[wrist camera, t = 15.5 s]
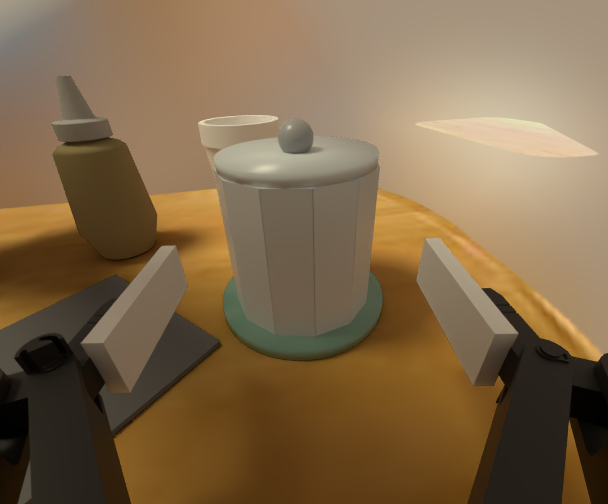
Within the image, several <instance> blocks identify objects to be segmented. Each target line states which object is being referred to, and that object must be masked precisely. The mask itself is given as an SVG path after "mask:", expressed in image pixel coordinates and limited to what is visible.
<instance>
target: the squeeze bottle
mask: <svg viewBox="0 0 608 504" xmlns="http://www.w3.org/2000/svg"><path fill="white" fill-rule="evenodd" d="M56 83H57V88H58V94H59V100H60V105H61V111H62V116H63V120H61V121H56V122H53V123H52V126H53V129H54V131H55V133H56V136H57V138H58V140H59V141H62V142H66V143H64V144H62V145H60V146H58V147H57V148H56V149H55V151H54V152H53V158H54V161H55V164H56V166H57V169H58V172H59V175H60V178H61V181H62V184H63V187H64V190H65V193H66V196H67V199H68V202H69V205H70V208H71V211H72V214H73V217H74V220H75V223H76V226H77V229H78V232H79V234H80V235H81V236H82V237H83V238H85V239H86V240H87V241H88V242H89V243H90V244H91V245H92V246H93V247H94V248H95V249H96V250H97V251H98V252H99V253H100V254H101V255H102V256H103V257H105V258H107V259H114V260H118V259H126V258H130V257H134V256H137V255H140V254H142V253H144V252H146V251H148V250H149V249H150V248H152V247H153V246H154V244H155V242H156V228H157V213H156V210H155V208H154V206H153V204H152V201H151V199H150V197H149V195H148V192H147V190H146V188H145V185H144V183H143V181H142V179H141V176H140V174H139V172H138V170H137V167H136V165H135V163H134V160H133V158H132V156H131V154H130V151H129V149H128V147H127V145H126V143H124V142H122V141H121V140H118V139H114V138H109V137H110V136H112V135H113V133H112V130H111V127H110V124H109V121H108V119H107V118H102V117H95V116H94V114H93V113H92V111H91V109H90V108H89V106H88V104H87V103H86V101H85V99H84V98H83V96H82V94H81V93H80V91H79V89H78V88H77V86H76V84H75V83H74V81H73V79H72V77H71V76H58V77H56Z"/></svg>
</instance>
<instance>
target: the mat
mask: <svg viewBox="0 0 608 504" xmlns="http://www.w3.org/2000/svg"><path fill="white" fill-rule="evenodd" d="M129 285H130V283H128V282H127V281H125V280H124V279H122V278H121V277H119V276H117V275H116V274H115V275H113V276H111V277H109V278H107V279H105V280H103V281H101V282H99V283H97V284H95V285H93V286H91V287H88V288H86V289H84V290H82V291H80V292H78V293H76V294H74V295H72V296H70V297H68V298H66V299H64V300H62V301H59V302H57V303H55V304H53V305H51V306H49V307H47V308H45V309H43V310H41V311H39V312H37V313H35V314H32V315H30V316H28V317H26V318H24V319H22V320H20V321H18V322H16V323H14V324H12V325H10V326H8V327H5V328H3V329H1V330H0V369H2V370H3V372H4V373H5V374H6V375H10V374H14V373H18V372H22V371H24V370H23V369H22V368H21V367H20V365H19V364H18V363H17V362H16V360H15V359H14V357H15V354H16V352H17V351H18V350H19V349H20V348H21V347H22V346H23V345H25V344H26V343H27V342H29V341H30V340H32V339H34V338H36V337H38V336H41V335H45V334H48V333H59V334H61V335H62V336H63V337H64V339H65V341H66V342H67V344H68V343H69V342H70V341H71V340H72V339H73V337H74V336H75V335H76V334H77V333H78V332H79V331H80V329H81V328H82V327H83V326H84V325H85V324H87V321H88V320H89V319H90V318H91V317H93V315H94V313H95V312H96V311H97V310H98V309H99V308H100V307H101V306H102V305H103V304H105V303H106V302H108V301H109V300H111V299H113V298H119V297H120V295H121V294H122V293H123V292H124V291H125V289H126V288H127V287H128V286H129ZM220 345H221V344H220V341H219V340H218V339H216V338H214V337H213V336H211V335H210V334H208V333H207V332H205V331H204V330H202V329H200V328H199V327H197V326H196V325H194V324H193V323H191V322H189V321H188V320H186V319H185V318H183V317H182V316H180V315H178V314H177V313H175V312H174V314H173V315H172V317H171V319H170V321H169V323H168V325H167V326H166V328H165V330H164V332H163V334H162V336H161V337H160V339H159V341H158V343H157V345H156V347H155V348H154V350H153V352H152V354H151V356H150V358H149V359H148V361H147V363H146V365H145V367H144V369H143V370H142V372H141V374H140V376H139V378H138V380H137V381H136V383H135V385H134V387H133V389H132V391H131V392H130V393H110V391H109V389H108V388H107V386H106V384H104V386H103V387H102V389H101V390H100V392H99V394H100V395H101V397H102V399H103V403H104V406H105V410H106V414H107V417H108V421H109V425H110V428H111V432H112V436H113V435H115V434H116V433H117V432H118V431H119V430H120V429H122V428H123V427H124V426H125V425H126V424H128V423H129V422H130V421H131V420H132V419H133V418H135V417H136V416H137V415H138V414H139V413H140V412H142V411H143V410H144V409H145V408H146V407H148V406H149V405H150V404H151V403H152V402H153V401H155V400H156V399H157V398H158V397H159V396H161V395H162V394H163V393H164V392H165V391H166V390H168V389H169V388H170V387H171V386H172V385H174V384H175V383H176V382H177V381H178V380H179V379H181V378H182V377H183V376H184V375H185V374H187V373H188V372H189V371H190V370H191V369H192V368H194V367H195V366H196V365H197V364H198V363H200V362H201V361H202V360H203V359H204V358H205V357H207V356H208V355H209V354H210V353H211V352H213V351H214V350H215V349H216V348H217V347H218V346H220ZM18 504H32V498H31V469H30V461H29V465H28V468H27V472H26V475H25V479H24V483H23V486H22V490H21V494H20V497H19V501H18Z"/></svg>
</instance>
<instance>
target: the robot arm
mask: <svg viewBox="0 0 608 504" xmlns="http://www.w3.org/2000/svg"><path fill="white" fill-rule="evenodd" d="M416 281H417V283H418V285H419V287H420V289H421V291H422V292H423V294H424V296H425V298H426V300H427V302H428V303H429V305H430V307H431V309H432V311H433V313H434V315H435V316H436V318H437V320H438V322H439V324H440V326H441V327H442V329H443V331H444V333H445V335H446V337H447V339H448V340H449V342H450V344H451V346H452V348H453V350H454V352H455V353H456V355H457V357H458V359H459V361H460V363H461V364H462V366H463V368H464V370H465V372H466V374H467V376H468V377H469V379H470V381H471V383H472V385H473V386H494V384H495V382H496V379H497V377H498V375H499V376H500V378H501V379H502V381H503V383H504V384H505V385H504V387H503V389H502V391H501V393H500V395H499V397H498V399H497V401H496V403H498V405H497V408H496V412H495V415H494V418H493V421H492V425H491V428H490V431H489V435H488V438H487V441H486V444H485V448H484V451H483V454H482V458H481V461H480V464H479V468H478V471H477V474H476V477H475V481H474V484H473V487H472V491H471V494H470V497H469V500H468V504H561V502H562V491H563V480H564V469H565V458H566V447H567V436H568V425H569V420H570V424H571V427H572V431H573V435H574V439H575V443H576V447H577V451H578V454H579V458H580V462H581V466H582V470H583V474H584V478H585V481H586V485H587V489H588V493H589V497H590V501H591V504H608V353H607V354H604V355H603V356H602V357H601V358H600V359H599V361H598V362H596V361H591V360H586V359H582V358H577V357H573V356H571V355H570V354H569V352H568V351H567V350H565V349H564V348H563V347H561V346H560V345H558V344H556V343H554V342H552V341H549V340H545V339H541V338H539V337H538V335H537V334H536V333H535V332H534V331H533V330H532V329H531V328H530V326H529V325H528V324H527V323H526V322H525V321H524V320H523V319H522V317H521V316H520V315H519V314H518V313H516V311H515V310H514V308H513V307H512V306H510V304H509V303H508V302H507V301H506V300H505V298H504V297H503V296H502V295H500V294H499V293H497V292H496V291H494V290H493V289H491V288H480V286H479V285H478V284H477V283H476V281H475V280H474V279H473V278H472V277H471V275H470V274H469V273H468V272H467V271H466V269H465V268H464V267H463V266H462V264H461V263H460V262H459V261H458V260H457V258H456V257H455V256H454V255H453V254H452V252H451V251H450V250H449V249H448V248H447V246H446V245H445V244H444V243H443V241H442V240H441V239H440V238H425V240H424V245H423V250H422V255H421V260H420V265H419V270H418V275H417V280H416ZM187 288H188V285H187V281H186V278H185V275H184V271H183V268H182V264H181V261H180V258H179V254H178V251H177V247H176V245H175V246H161V247H160V248H159V250H158V251H157V252H156V253H155V254H154V256H153V257H152V258H151V259H150V260H149V262H148V263H147V264H146V265H145V266H144V268H143V269H142V270H141V271H140V273H139V274H138V275H137V276H136V277H135V279H134V280H133V281H132V282H131V283H130V285H129V286H128V287H127V288H126V289H125V291H124V292H123V293H122V294H121V295H120V297H119V298H113V299H111V300H109V301H108V302H106V303H105V304H103V305H102V306H101V307H100V308H99V309H98V310H97V311H96V312H95V313H94V315H93V317H91V318H90V319H89V320H88V321H87V324H85V325H84V326H83V327H82V328H81V329H80V331H79V332H78V333H77V334H76V335H75V336H74V337H73V339H72V340H71V341H70V342H69V343H68V344H67V342H66V341H65V339H64V337H63V336H62V335H61V334H59V333H48V334H45V335H41V336H38V337H36V338H34V339H32V340H30V341H29V342H27V343H26V344H25V345H23V346H22V347H21V348H20V349H19V350H18V351H17V352H16V354H15V357H14V359H15V360H16V362H17V363H18V364H19V365H20V367H21V368H22V369H23V370H24V371H22V372H18V373H14V374H10V375H6V374H5V373H4V372H3V370H2V369H0V504H18V501H19V497H20V494H21V490H22V486H23V483H24V479H25V475H26V472H27V468H28V465H29V461H30V469H31V498H32V504H131V502H130V498H129V495H128V491H127V487H126V483H125V480H124V476H123V472H122V469H121V465H120V461H119V458H118V454H117V450H116V447H115V443H114V439H113V436H112V432H111V428H110V425H109V421H108V417H107V414H106V410H105V406H104V403H103V399H102V397H101V395H100V394H99V392H100V390H101V389H102V387H103V386H104V384H106V386H107V388H108V389H109V391H110V393H130V392H131V391H132V389H133V387H134V385H135V383H136V381H137V380H138V378H139V376H140V374H141V372H142V370H143V369H144V367H145V365H146V363H147V361H148V359H149V358H150V356H151V354H152V352H153V350H154V348H155V347H156V345H157V343H158V341H159V339H160V337H161V336H162V334H163V332H164V330H165V328H166V326H167V325H168V323H169V321H170V319H171V317H172V315H173V314H174V312H175V310H176V308H177V306H178V304H179V303H180V301H181V299H182V297H183V295H184V293H185V292H186V290H187Z"/></svg>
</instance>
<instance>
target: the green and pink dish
mask: <svg viewBox="0 0 608 504" xmlns="http://www.w3.org/2000/svg"><path fill="white" fill-rule="evenodd" d="M382 300H383V295H382V289H381V286H380V283H379V282H378V280H377V278H376V277H375V275H374V274H373V273H372V272H371V271H369V281H368V291H367V301H366V303H365V305H364V306H363V307H362V309H361V310H360V311H359V312H358V314H357V315H356V316H355V318H354V319H353V320H352V321H351V323H350V324H348V325H345V326H342V327H340V328H337V329H334V330H332V331H329V332H327V333H324V334H321V335H319V336H315V337H310V336H288V335H275V334H273V333H271V332H269V331H268V330H266V329H264V328H262V327H260V326H258V325H256V324H255V323H253V322H251V321H249V320H247V318H246V316H245V313H244V311H243V309H242V306H241V304H240V302H239V299H238V296H237V290H236V285H235V280H234V276H233V278H232V279H231V280H230V282H229V283H228V285H227V287H226V289H225V292H224V296H223V308H224V313H225V317H226V321H227V324H228V326H229V328H230V330H231V331H232V333H233V334H234V335H235V336H236V337H237V338H238V339H239V340H240V341H241V342H242V343H243V344H245V345H246V346H248V347H249V348H251V349H253V350H255V351H257V352H259V353H262V354H264V355H267V356H270V357H275V358H279V359H286V360H314V359H321V358H326V357H330V356H334V355H336V354H339V353H342V352H344V351H346V350H348V349H351V348H353V347H354V346H356V345H357V344H359V343H360V342H362V341H363V340H364V339H365V338H366V337H367V336H368V335H369V334H370V333H371V332H372V331H373V329H374V328H375V326H376V325H377V323H378V321H379V318H380V315H381V308H382Z"/></svg>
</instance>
